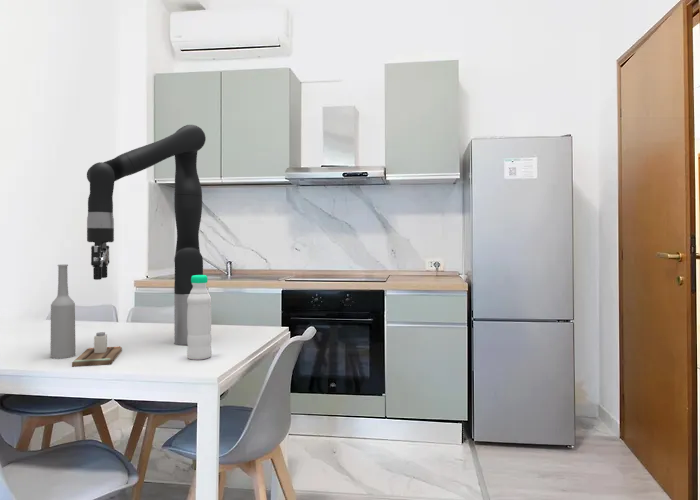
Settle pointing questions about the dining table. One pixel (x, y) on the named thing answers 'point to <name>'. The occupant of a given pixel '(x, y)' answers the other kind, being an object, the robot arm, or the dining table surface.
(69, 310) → the bottle
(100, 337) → the slider knob
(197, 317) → the water bottle
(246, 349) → the dining table surface
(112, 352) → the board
